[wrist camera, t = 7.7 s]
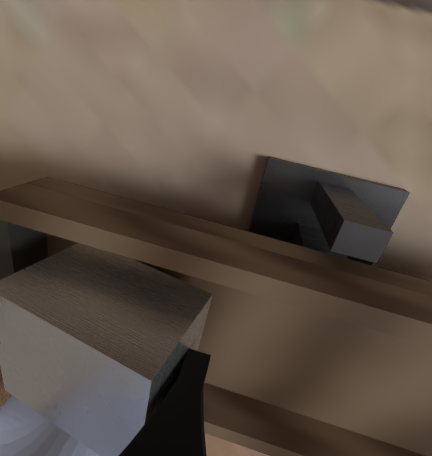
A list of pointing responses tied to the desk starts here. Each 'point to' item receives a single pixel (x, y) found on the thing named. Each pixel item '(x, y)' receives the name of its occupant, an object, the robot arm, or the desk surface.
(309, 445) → the wooden rimmed tray
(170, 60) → the desk surface
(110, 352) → the block
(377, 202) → the pivot stand
